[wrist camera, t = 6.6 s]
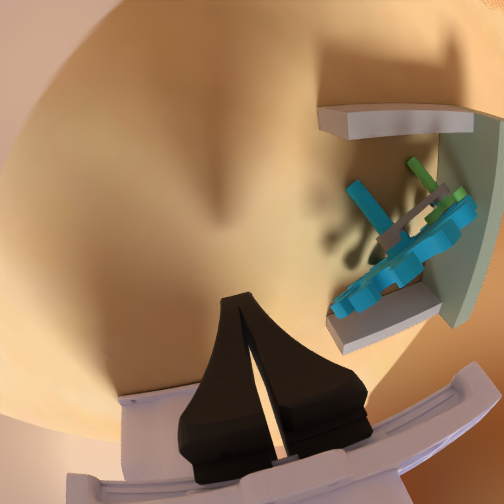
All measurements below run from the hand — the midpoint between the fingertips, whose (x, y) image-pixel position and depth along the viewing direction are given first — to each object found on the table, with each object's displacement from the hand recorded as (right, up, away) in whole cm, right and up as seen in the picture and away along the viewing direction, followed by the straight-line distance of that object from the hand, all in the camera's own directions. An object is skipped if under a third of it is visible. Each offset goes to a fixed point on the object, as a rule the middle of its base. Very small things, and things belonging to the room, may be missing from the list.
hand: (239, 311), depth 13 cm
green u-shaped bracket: (+10, +5, +4) cm, 12 cm away
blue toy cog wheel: (+8, +5, +4) cm, 11 cm away
